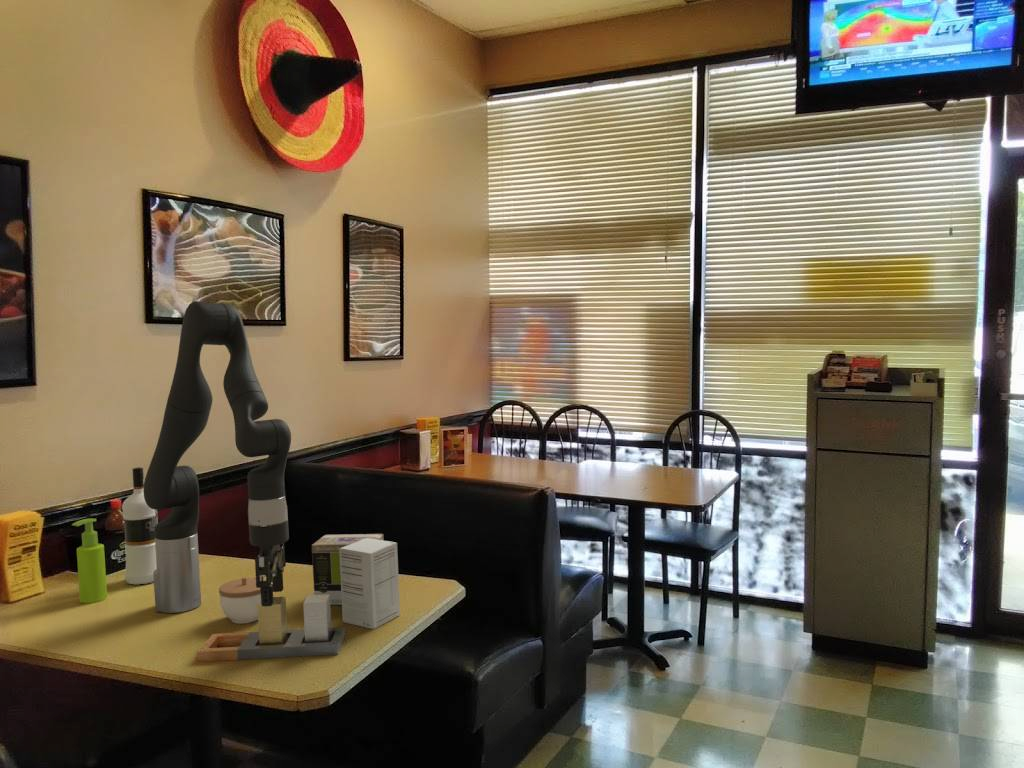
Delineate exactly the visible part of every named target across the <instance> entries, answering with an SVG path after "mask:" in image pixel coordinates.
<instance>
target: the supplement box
mask: <svg viewBox="0 0 1024 768" xmlns="http://www.w3.org/2000/svg"><path fill="white" fill-rule="evenodd" d="M339 556H340V575H341V595H342V605H341V610H342V612H341V613H342V614H341V615H342V622H343V623H345V624H349V625H354V626H359V627H362V628H367V629H372V630H375V629H376V628H378V627H380V626H382V625H385V624H387V622H390V621H391V620H393V619H395V618H397V617H399V616H400V615H401V605H400V604H401V602H400V584H399V583H400V581H399V580H400V579H399V558H398V543H397V542H394V541H389V540H384V541H383V540H377V539H371V538H365V539H363V540H360V541H358V542H355V543H352V544H350V545H347V546H345V547H342V548H340V549H339Z"/></svg>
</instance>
